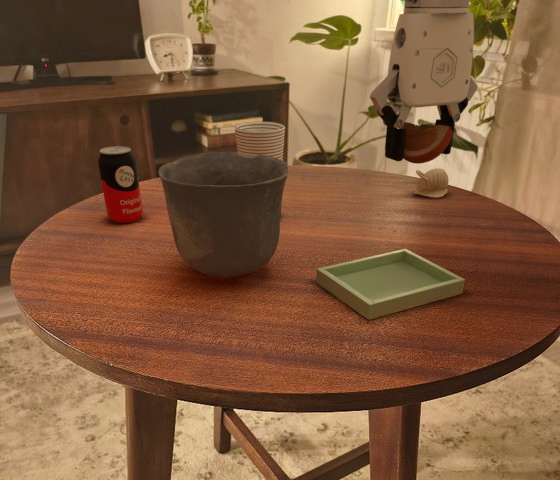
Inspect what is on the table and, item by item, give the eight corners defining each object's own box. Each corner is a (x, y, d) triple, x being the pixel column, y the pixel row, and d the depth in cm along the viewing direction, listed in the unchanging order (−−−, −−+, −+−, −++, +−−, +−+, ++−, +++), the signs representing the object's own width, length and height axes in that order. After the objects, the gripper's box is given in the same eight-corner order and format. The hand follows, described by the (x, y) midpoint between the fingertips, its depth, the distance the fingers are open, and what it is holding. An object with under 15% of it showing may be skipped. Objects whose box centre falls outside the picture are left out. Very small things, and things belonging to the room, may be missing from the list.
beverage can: (103, 224, 100) (89, 153, 93) (115, 212, 105) (104, 145, 98) (137, 225, 99) (126, 154, 92) (148, 214, 104) (139, 145, 98)
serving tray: (403, 261, 85) (405, 248, 84) (462, 293, 76) (465, 279, 75) (316, 282, 79) (316, 268, 78) (368, 320, 70) (369, 304, 69)
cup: (292, 214, 104) (293, 123, 95) (271, 228, 98) (270, 132, 89) (252, 207, 107) (250, 119, 99) (229, 220, 101) (224, 128, 92)
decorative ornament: (452, 196, 113) (457, 168, 110) (416, 200, 111) (420, 172, 108) (441, 190, 116) (445, 163, 113) (406, 194, 114) (409, 167, 111)
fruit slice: (377, 161, 77) (380, 122, 74) (401, 152, 81) (405, 115, 78) (433, 171, 72) (439, 129, 69) (455, 161, 76) (462, 121, 74)
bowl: (316, 273, 82) (320, 167, 74) (223, 313, 72) (215, 195, 63) (237, 241, 92) (232, 145, 84) (145, 272, 82) (130, 166, 74)
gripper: (396, -1, 60) (380, 169, 70) (515, -3, 67) (486, 154, 77) (357, -1, 66) (348, 157, 76) (471, -3, 72) (448, 143, 82)
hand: (417, 154), depth 76 cm, fingers closed on fruit slice, 7 cm apart
